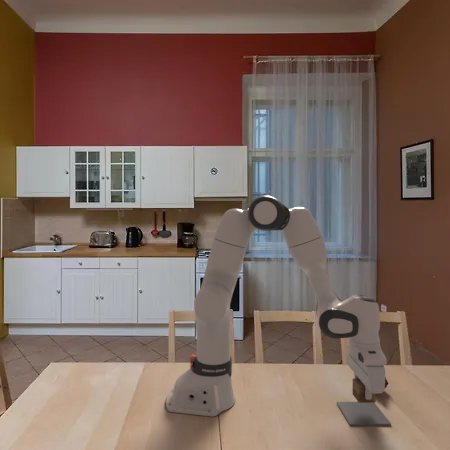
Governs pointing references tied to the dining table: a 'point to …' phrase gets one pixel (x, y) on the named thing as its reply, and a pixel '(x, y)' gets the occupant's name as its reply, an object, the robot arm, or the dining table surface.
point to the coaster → (363, 414)
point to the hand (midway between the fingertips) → (363, 392)
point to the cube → (361, 392)
